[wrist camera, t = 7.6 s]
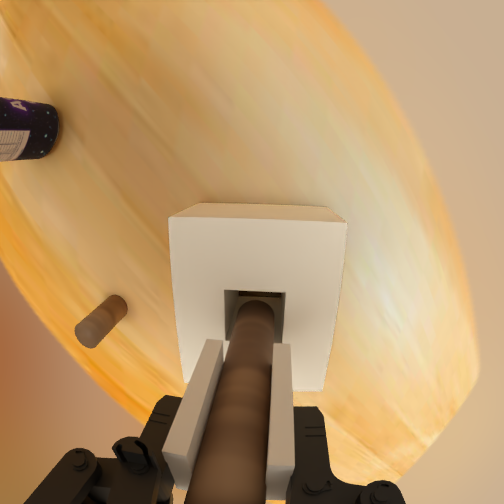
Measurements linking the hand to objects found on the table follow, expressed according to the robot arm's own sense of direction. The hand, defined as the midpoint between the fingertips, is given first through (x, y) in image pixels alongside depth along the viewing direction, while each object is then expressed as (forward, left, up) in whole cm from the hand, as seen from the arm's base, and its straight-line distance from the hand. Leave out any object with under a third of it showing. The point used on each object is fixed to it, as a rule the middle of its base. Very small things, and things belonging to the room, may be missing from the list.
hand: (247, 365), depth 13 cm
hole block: (0, 0, -11) cm, 11 cm away
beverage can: (-14, -22, -12) cm, 29 cm away
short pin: (+4, -14, -11) cm, 19 cm away
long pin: (0, 0, -6) cm, 6 cm away
